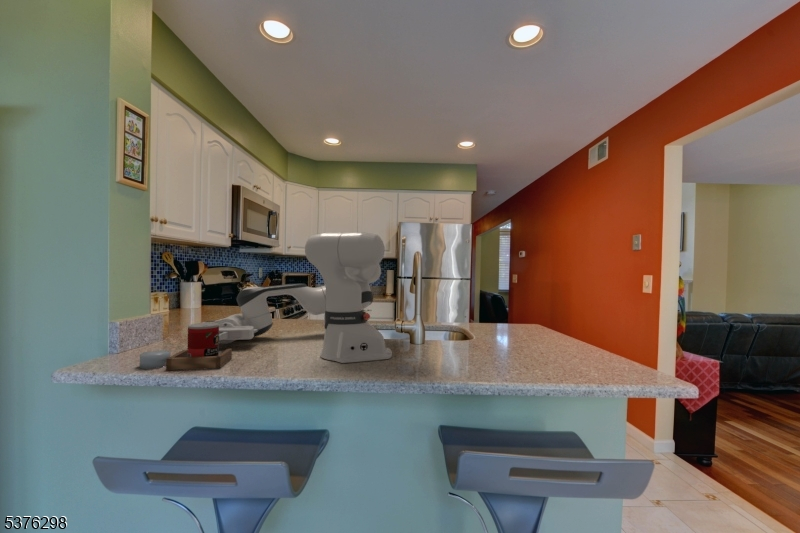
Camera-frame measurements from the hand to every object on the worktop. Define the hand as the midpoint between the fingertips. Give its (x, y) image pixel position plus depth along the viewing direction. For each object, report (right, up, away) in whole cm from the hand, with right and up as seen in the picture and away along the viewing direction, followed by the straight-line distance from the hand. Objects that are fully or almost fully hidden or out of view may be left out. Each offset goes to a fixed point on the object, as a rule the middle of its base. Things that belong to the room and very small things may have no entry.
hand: (214, 338), depth 110 cm
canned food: (+2, -5, -11) cm, 12 cm away
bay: (+2, -5, -11) cm, 13 cm away
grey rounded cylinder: (-9, -5, -14) cm, 17 cm away
